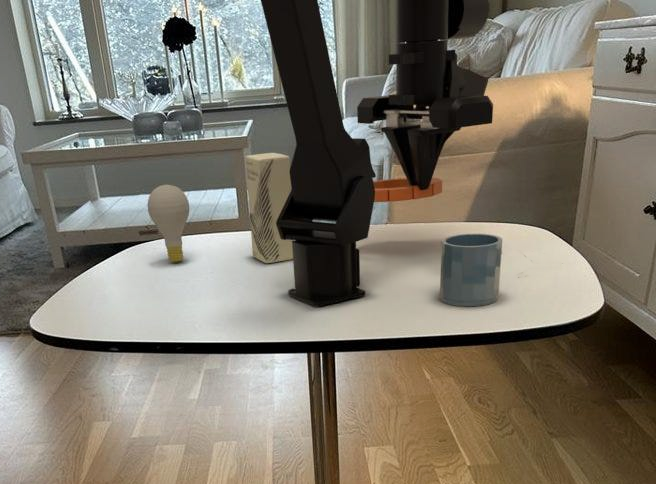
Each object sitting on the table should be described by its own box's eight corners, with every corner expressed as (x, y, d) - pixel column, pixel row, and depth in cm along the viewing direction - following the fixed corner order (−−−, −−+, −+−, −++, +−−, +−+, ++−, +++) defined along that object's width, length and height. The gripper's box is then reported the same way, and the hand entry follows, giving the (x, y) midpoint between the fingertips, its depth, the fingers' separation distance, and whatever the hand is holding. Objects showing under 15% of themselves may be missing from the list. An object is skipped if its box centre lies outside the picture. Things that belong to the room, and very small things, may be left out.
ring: (385, 204, 89) (384, 192, 88) (334, 198, 98) (334, 187, 98) (459, 191, 94) (459, 179, 93) (405, 186, 103) (404, 175, 102)
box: (252, 257, 102) (242, 155, 95) (281, 252, 103) (274, 151, 97) (267, 265, 97) (258, 158, 91) (297, 259, 99) (291, 154, 92)
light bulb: (148, 264, 102) (135, 187, 97) (178, 256, 105) (167, 180, 100) (174, 269, 99) (162, 189, 94) (204, 260, 102) (194, 182, 97)
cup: (465, 310, 76) (468, 249, 73) (428, 297, 80) (429, 240, 77) (510, 298, 78) (515, 239, 75) (471, 286, 83) (474, 231, 80)
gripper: (536, 32, 80) (523, 187, 87) (427, 41, 94) (424, 173, 102) (454, 39, 75) (449, 201, 83) (353, 47, 90) (356, 185, 97)
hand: (419, 188), depth 91 cm, fingers closed on ring, 1 cm apart
